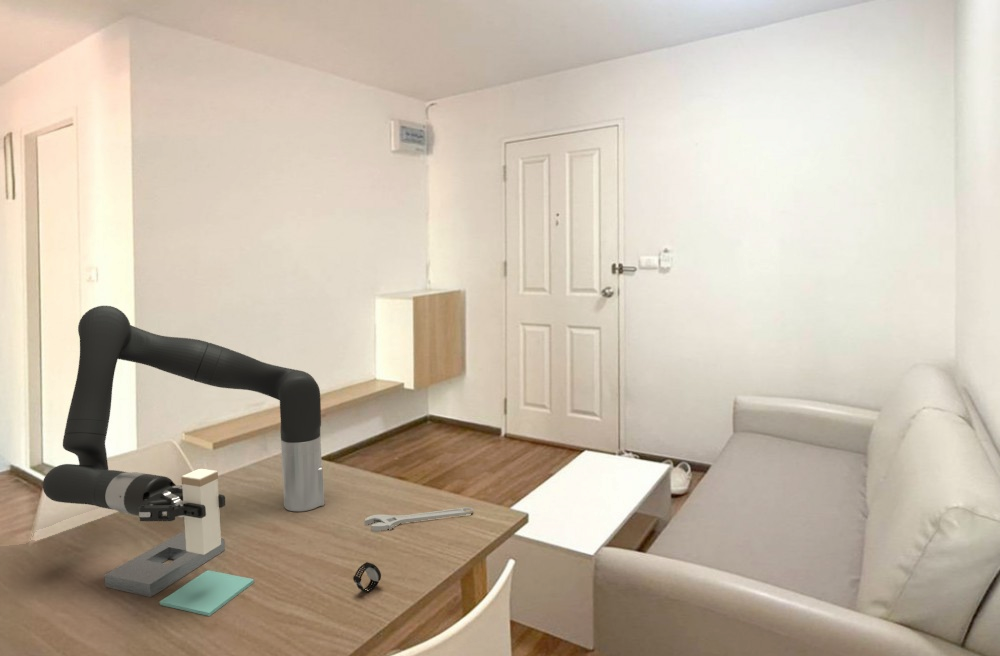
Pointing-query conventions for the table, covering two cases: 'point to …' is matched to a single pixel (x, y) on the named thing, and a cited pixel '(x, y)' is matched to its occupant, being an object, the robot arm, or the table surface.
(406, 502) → the table surface
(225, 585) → the mat
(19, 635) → the table surface
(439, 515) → the adjustable wrench
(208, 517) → the post
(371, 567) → the smartwatch
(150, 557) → the socket plate
